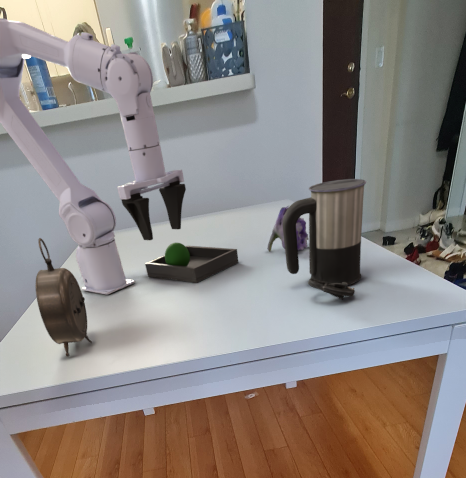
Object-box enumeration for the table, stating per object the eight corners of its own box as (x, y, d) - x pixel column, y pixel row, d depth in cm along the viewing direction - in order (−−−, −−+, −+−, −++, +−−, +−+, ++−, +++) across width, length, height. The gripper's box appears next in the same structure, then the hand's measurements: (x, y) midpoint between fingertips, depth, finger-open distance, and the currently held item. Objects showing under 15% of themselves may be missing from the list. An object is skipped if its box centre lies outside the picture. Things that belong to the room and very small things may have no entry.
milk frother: (342, 268, 88) (344, 176, 78) (397, 287, 77) (407, 181, 67) (278, 288, 85) (271, 194, 75) (325, 310, 73) (325, 203, 63)
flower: (253, 224, 97) (294, 193, 94) (259, 233, 105) (297, 205, 101) (274, 264, 99) (315, 235, 95) (279, 270, 106) (317, 243, 103)
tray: (148, 276, 102) (144, 263, 101) (189, 258, 109) (187, 245, 107) (196, 283, 94) (194, 268, 92) (238, 262, 101) (237, 248, 99)
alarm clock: (70, 335, 81) (31, 233, 70) (99, 330, 81) (65, 227, 70) (57, 361, 73) (10, 250, 62) (89, 356, 73) (48, 244, 62)
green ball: (182, 273, 103) (161, 271, 100) (181, 246, 101) (159, 243, 98) (194, 270, 98) (172, 267, 95) (194, 242, 97) (171, 238, 94)
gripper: (127, 154, 74) (148, 245, 83) (188, 138, 82) (202, 224, 91) (101, 156, 78) (124, 244, 87) (162, 141, 85) (178, 224, 94)
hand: (162, 234), depth 89 cm, fingers open, 7 cm apart
